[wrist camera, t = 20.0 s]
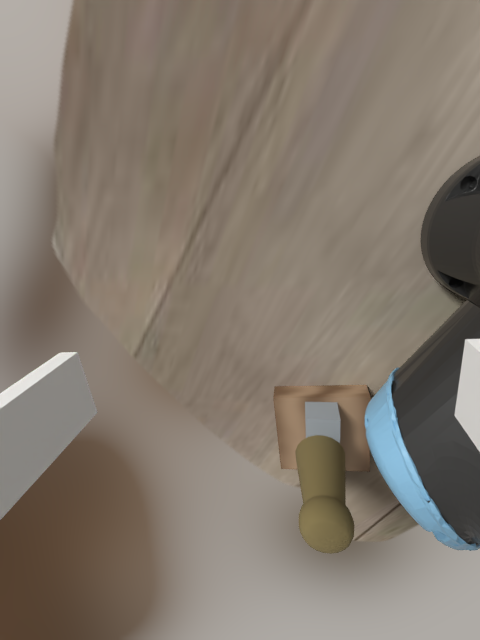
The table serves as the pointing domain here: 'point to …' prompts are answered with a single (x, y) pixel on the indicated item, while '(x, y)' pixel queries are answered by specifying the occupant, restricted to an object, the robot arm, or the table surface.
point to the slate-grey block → (322, 419)
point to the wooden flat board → (351, 425)
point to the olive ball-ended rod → (323, 494)
